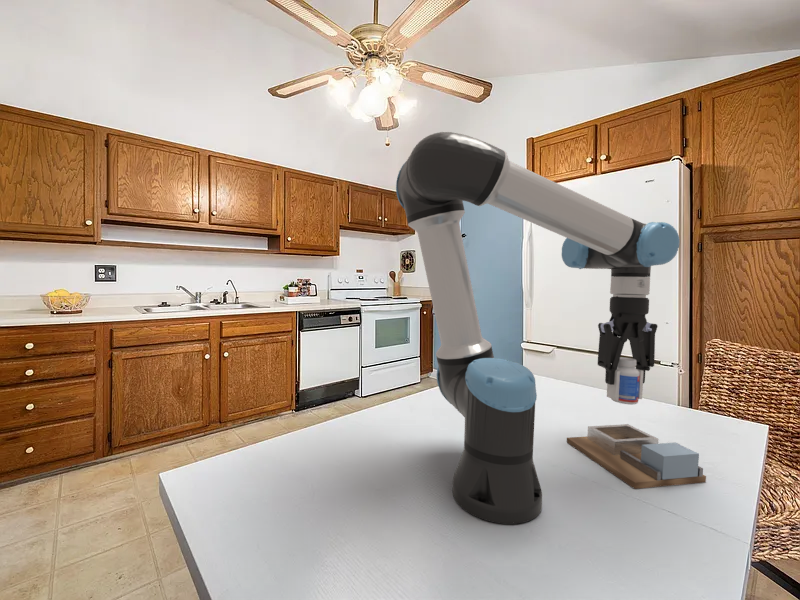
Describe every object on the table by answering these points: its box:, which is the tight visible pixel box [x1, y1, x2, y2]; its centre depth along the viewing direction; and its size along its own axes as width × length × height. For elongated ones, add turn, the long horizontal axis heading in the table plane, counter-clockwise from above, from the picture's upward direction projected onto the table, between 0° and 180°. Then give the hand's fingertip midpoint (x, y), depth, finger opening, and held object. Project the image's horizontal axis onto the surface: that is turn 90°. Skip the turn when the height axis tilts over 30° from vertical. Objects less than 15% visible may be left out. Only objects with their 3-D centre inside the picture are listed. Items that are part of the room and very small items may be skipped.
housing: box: [641, 442, 700, 480], centre depth 73 cm, size 8×5×4 cm, turn 101°
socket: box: [586, 423, 659, 455], centre depth 85 cm, size 11×8×3 cm
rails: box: [620, 450, 704, 481], centre depth 75 cm, size 10×9×2 cm
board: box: [566, 436, 707, 490], centre depth 80 cm, size 16×20×1 cm
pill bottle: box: [611, 356, 640, 405], centre depth 84 cm, size 6×5×10 cm
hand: (624, 397), depth 84 cm, fingers closed on pill bottle, 5 cm apart
